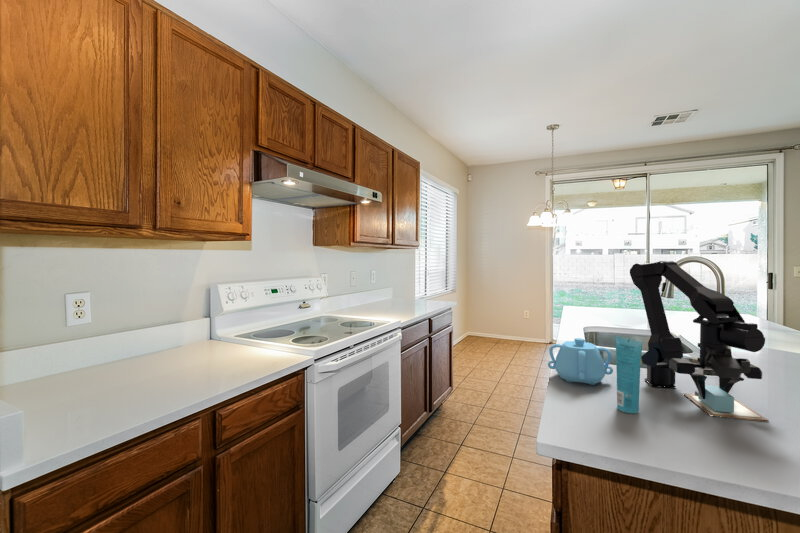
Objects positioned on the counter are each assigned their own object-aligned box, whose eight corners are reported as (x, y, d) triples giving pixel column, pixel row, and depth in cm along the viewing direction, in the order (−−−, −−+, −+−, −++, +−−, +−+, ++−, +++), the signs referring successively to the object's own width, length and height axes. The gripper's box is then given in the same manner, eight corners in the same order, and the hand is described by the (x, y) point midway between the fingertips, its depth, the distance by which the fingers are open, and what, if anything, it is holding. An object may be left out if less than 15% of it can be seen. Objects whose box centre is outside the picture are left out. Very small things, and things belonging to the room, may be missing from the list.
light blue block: (733, 412, 93) (734, 397, 93) (715, 411, 94) (715, 395, 94) (712, 397, 102) (712, 383, 102) (695, 396, 103) (695, 382, 103)
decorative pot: (619, 385, 116) (620, 342, 115) (578, 390, 111) (578, 346, 111) (580, 369, 131) (581, 332, 131) (542, 374, 127) (543, 335, 126)
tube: (647, 413, 95) (648, 340, 94) (637, 417, 93) (638, 342, 92) (618, 403, 101) (619, 335, 101) (608, 407, 99) (608, 337, 98)
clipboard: (710, 416, 93) (710, 410, 93) (682, 394, 107) (682, 389, 107) (768, 421, 90) (769, 416, 90) (732, 398, 104) (732, 393, 104)
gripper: (687, 347, 93) (686, 407, 93) (778, 352, 88) (777, 416, 88) (668, 337, 104) (667, 392, 104) (748, 341, 98) (747, 398, 99)
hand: (712, 399), depth 98 cm, fingers closed on light blue block, 4 cm apart
